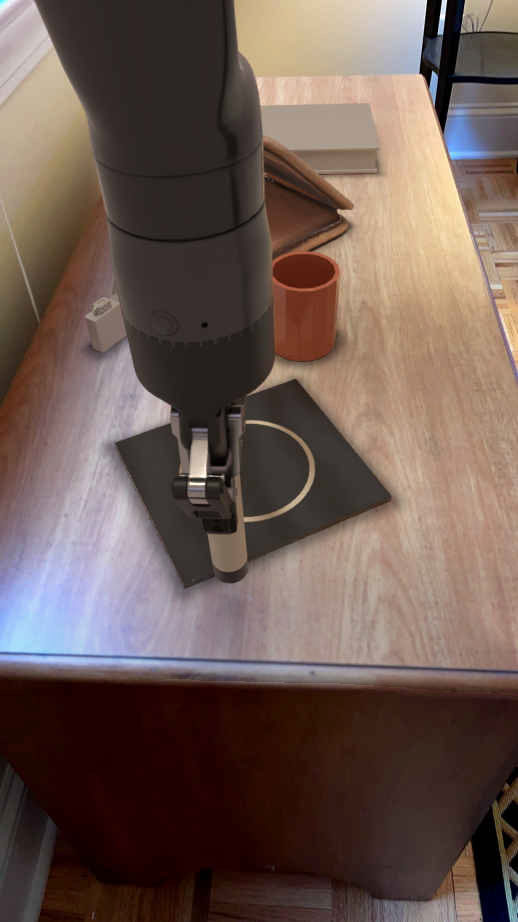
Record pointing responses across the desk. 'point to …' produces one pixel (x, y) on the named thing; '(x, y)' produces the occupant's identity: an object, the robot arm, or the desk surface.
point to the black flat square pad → (259, 479)
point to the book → (325, 135)
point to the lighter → (106, 322)
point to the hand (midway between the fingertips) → (223, 509)
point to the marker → (230, 547)
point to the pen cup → (305, 305)
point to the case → (299, 202)
